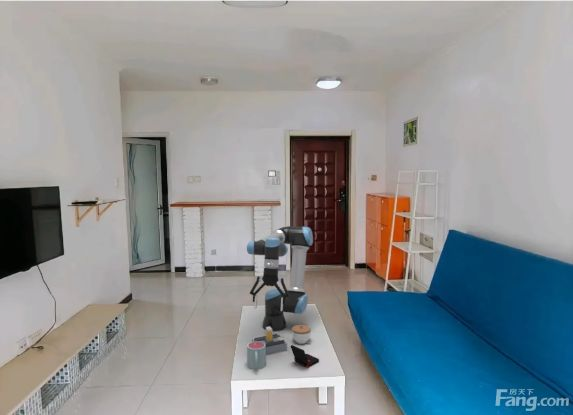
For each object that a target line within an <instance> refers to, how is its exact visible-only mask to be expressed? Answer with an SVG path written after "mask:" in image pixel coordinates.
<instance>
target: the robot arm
mask: <svg viewBox="0 0 573 415" xmlns="http://www.w3.org/2000/svg"><path fill="white" fill-rule="evenodd" d="M313 243H314V236H313V232H312V228H310V227H308V226H290V225H289V226H283V227H280V228H277V229H275V230H273V231H272V232H271V233H270V234H269V235H267V236H265V237H263V238H261V239H258V240H256V241H255V240H252V241H251V240H249V241H248V242H247V244H246V252H247V253H248V255H253V256H264V259H263V266H264V268H263V276H259V275H258V276H257V277H256V281H255V283H254V285H253V286H252V288H251V289H250V292H249V295H252V302H253V303H254V306H253V307H254V308H253V309H254V310H257V307H258V295H257V294H258V293H259V292H260V291H261V290H262V289H263V288H264V287H265V286H267V287H275V288H273V289H270V290H267V291H266V292H265V295H264V312H265V313H264V317H263V321H262V329H264V330H266V327H271V328H272V332H278V331H279V332H280V331H282V330H285V328H287V320H286V317H285V313H290V314H298V315H299V314H304V313H305V311H306V308H307V306H308V302H309V299H308V298H309V296H308V295H307V294H306V291H305V289H304V285H305V284H304V283H305V273H306V262H307V251H308V250H309V249H310V246H312V245H313ZM288 245H291V246H290V247H291V248H292V250H293V251H292V259H291V270H290V278H289V279H290V281H289V287H288V288H287V287H286V283H285V279H284V277H281V278H279V269H278V268H279V263H280V257H281V258H283V257H284V256H286V255H287V253H288V252H289V251H288V249H289V248H288ZM261 280H262V282H263V283H262V284H261V285H260V286H259V287H258V288H257V286H258V284H259V283H260V282H261ZM278 282H280V284H281V286H282V288H283V289H282V288H281V287H280V286H279V285H278ZM256 288H257V289H256Z"/></svg>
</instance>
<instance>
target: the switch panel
mask: <svg viewBox="0 0 573 415" xmlns="http://www.w3.org/2000/svg"><path fill="white" fill-rule="evenodd" d="M265 338H266V335H263V336H258V337H254V338H253V339H251V342H255V341H260V342H263V343H265V345H266V356H267V355H272V354H277V353H282V352H285V351H288V343H287V342H286V341H285V339H283V338H282V337H281V335H280V334H277V333H275V334H274V333H273V340H274V342H268V343H267V342H266V341H265Z"/></svg>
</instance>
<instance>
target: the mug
mask: <svg viewBox="0 0 573 415" xmlns="http://www.w3.org/2000/svg"><path fill="white" fill-rule="evenodd" d="M266 357H267V355H266V345H265V343H263V342H260V341H255V342H252V341H251V342H248V343H247V345H246V358H247V359H246V361H247V362H246V365H247V367H248V368H249V369H252V370H260V369H263V368H265V367H266V365H267V364H266V363H267V358H266Z"/></svg>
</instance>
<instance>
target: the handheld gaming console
mask: <svg viewBox="0 0 573 415" xmlns="http://www.w3.org/2000/svg"><path fill="white" fill-rule="evenodd" d="M290 349H291V352H292V354H293V357H294V363H297V364H298V365H299V366H300V365H301V366H302V367H304V368H311V367H313V366H314V365H316V364H318V363H320V358H318V357H316V356H313V355H311V354H309V353H306V352H305V350H304V349H302V348H300V347H297V346H295V345H294V344H291V345H290Z"/></svg>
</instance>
